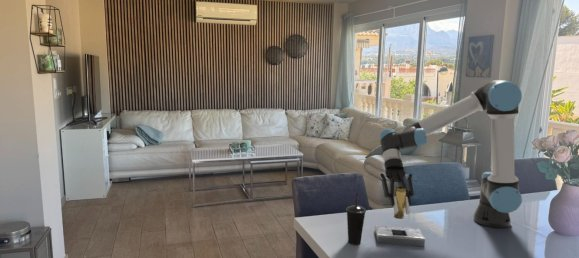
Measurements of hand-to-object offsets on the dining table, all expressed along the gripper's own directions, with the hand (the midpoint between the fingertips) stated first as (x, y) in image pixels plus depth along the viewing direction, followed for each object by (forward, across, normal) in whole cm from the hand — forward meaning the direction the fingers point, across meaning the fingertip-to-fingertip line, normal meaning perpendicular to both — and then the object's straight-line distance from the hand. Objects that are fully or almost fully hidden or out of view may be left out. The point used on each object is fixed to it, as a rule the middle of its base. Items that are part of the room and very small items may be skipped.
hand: (402, 212), depth 163 cm
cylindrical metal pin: (0, 0, -5) cm, 5 cm away
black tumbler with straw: (+9, +18, -9) cm, 22 cm away
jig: (+6, -1, -11) cm, 13 cm away
